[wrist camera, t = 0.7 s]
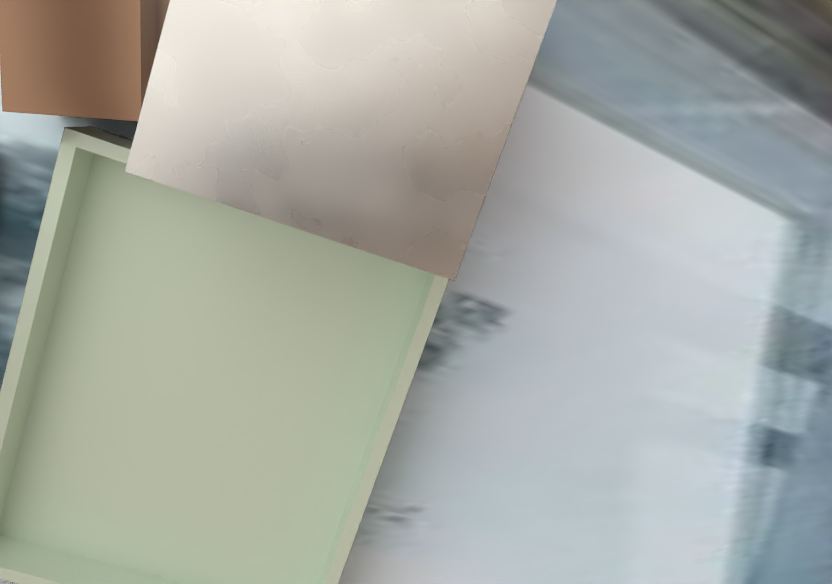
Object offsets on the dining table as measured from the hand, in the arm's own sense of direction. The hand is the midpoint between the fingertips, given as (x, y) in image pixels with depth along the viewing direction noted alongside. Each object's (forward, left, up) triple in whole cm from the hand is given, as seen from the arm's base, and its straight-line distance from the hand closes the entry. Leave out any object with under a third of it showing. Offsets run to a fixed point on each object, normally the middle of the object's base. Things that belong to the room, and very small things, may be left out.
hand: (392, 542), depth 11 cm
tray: (-5, -9, -24) cm, 27 cm away
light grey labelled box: (-3, +7, -24) cm, 25 cm away
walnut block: (-13, +4, -25) cm, 28 cm away
